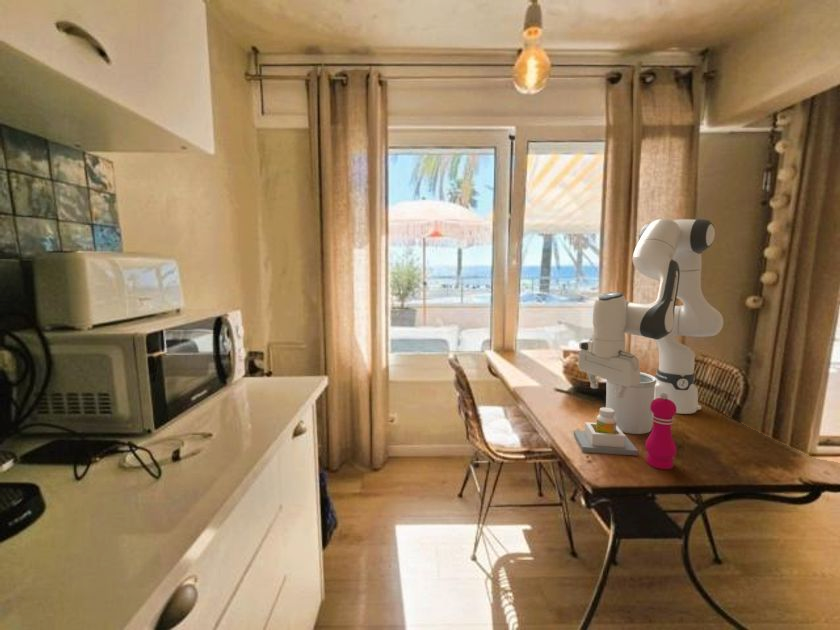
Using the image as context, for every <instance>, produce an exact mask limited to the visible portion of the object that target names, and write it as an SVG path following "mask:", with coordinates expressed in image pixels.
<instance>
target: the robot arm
mask: <svg viewBox="0 0 840 630" xmlns="http://www.w3.org/2000/svg"><path fill="white" fill-rule="evenodd" d="M715 231H716V230H715V225H714V223H712V222H711V221H710V220H709V219H706V218H705V219H704V218H697V219H689V218H686V219H685V218H681V219H680V218H679V219H678V218H677V219H673V220H672V219H670V218H669V219H668V218H659V219H656V220H654V221H652V222H650V223H646V224H644V225H643V227H642V228H641V229H640V231H639V234H638V242H637V244H636V246H635V248H634V251H633V254H632V264H633V265H634V268H635V269H636V270H637V271H638V272H639V273H640V274H641V275H643V276H645V277H647V278H650V279H653V280H656V281H658V282H659V286H658V291H657V296H656V300H655V301H653V302H651V303H643V302H642V303H641V302H631V301H628V300H626V296H625V294H624V293H622V292H618V291H609V292H602V293H600V294H598V295H597V296H596V297H595V300H594V305H593V311H592V312H593V313H592V325H593V331H592V332H593V333H592V337H591V339H590V340H587V341H581V342H579V343H578V347H579V352H578V359H577V360H578V363H577V365H578V369H579V370H580V371H581V372H584V373H587V378H588V380H589V383H590V386H589V387H590V388H591V389H595V390H596V389H599V382H597V378H596V377H598V378H601V379H605V381H607V380H609V381H612V382H615V383H618V387H620V388H619V390H618V391H615V397H617V398H619V399H621V398H623V395H624V392H625V390H626V389H627V388H628V387H635V386H638V385H639V384H640V372H641V371H640V365H639V364H640V363H639V359H638V358H637V357H636V356H635V354H634V353H630V352H627V351H626V335H633V336H638V337H639V336H640V337H643V338H648V339H652V340H653V341H654V342H655V343H656V346H657V349H658V368H657V370H656V374H655V378H656V384H655V390H654V399H656V398H661V397H660V395H661V394H662V393H666V394H667V395H668V398H667V399H669V400H671V401H672V402H673V403H674V404H675V405H676V414H681V415H683V414H685V415H687V414H689V415H690V414H694V413H696V412H697V411H699V410H702V405H699V402H698V401H699V400H698V399H699V397H698V396H699V395H698V394H699V393H698V387H697V386H696V385H695V380H696V374H695V359H696V355H695V352H694V351H693V349H691V348H690V347H688V346H687V345H685V344H683V343H681V342H680V341H678V340H677V337H676V336H683V337H697V338H702V337H703V338H704V337H713V336H716V335H718V334H719V333H720V332H721V330H722V328H723V326H724V318H723V315H722V314H721V312H720V311H719V310H718V309H716V308H715V307H713V306H712V305H711V304H710V303H709V302H708V301H707V300H706V298H705V296H704V294H703V292H702V253H703V252H704V251H706V250H707V249H708V248H710V247H711V246H712V245H713V242H714V239H715V235H716V232H715ZM677 300H680V302H682V305H676V302H677Z"/></svg>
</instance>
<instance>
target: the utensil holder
mask: <svg viewBox="0 0 840 630" xmlns="http://www.w3.org/2000/svg"><path fill="white" fill-rule="evenodd" d="M605 381H606V385H605V386H606V387H605V388H606V389H605V391H606V393H605V394H606V395H605V407H606V408H611V409H613V410H614V417H615V418H616V425H617V426H618V428H619V429H620V430H621V431H622V433H624V434H625V433H626V434H629V435H630V434H632V435H643V434H648V433H651V432H652V429H653V420H652V414H653V412H652V411H651V409H650V405H651V402H652V401H653V400H654V390H655V384H656V376H654V375H652V374H649V373H645V372H641V371H640V384H639V385H638V386H635V387H628V388H627V389H626V390H625V392H624V395H623V398H621V399H619V398H617V397H615V391H618V390H619V388H620V387H618V383H615V382H612V381H609V380H605Z"/></svg>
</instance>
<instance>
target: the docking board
mask: <svg viewBox="0 0 840 630" xmlns="http://www.w3.org/2000/svg"><path fill="white" fill-rule="evenodd" d="M596 424H597V422H587V421H585V423H584V430H577V429H576V430H573V437H574V438H575V440H576V442H577V445H578V446H579V448H580V450H581V452H582V453H592V454H593V453H594V454H608V455H609V454H610V455H622V456H623V455H624V456H638V455H639V450H638V449H637V447H636V446H635V445H634V443H633V442H632V441H631V440H630V439H629V438H628V437H627V435H626V434H625V432H622V431H621V430H620V429H619V428H618V426H617V425H616V434H612V433H596Z"/></svg>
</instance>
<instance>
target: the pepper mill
mask: <svg viewBox="0 0 840 630" xmlns="http://www.w3.org/2000/svg"><path fill="white" fill-rule="evenodd" d="M660 397H661V398H656V399H654V400H653V401H652V402H651V405H650V409H651V411H652V412H653V414H652V429H651V431H650V432H649V436H648V437H647V439H646V440H645V445H644V447H645V448H644V449H645V450H646V451H647V454H646V463H647V464H649V465H650V466H652V467H654V468H657V469H661V470H671V469H673V467H674V457H675V456H676V454H677V447H676V442H675V440H674V438H673V436H672V435H673V434H672V424H674V416H675V415H676V414H677V413H676V405H675V404H674V403H673V402H672V401H671V400H669V399H667V398H668V395H667V394H666V393H662V394H661V395H660Z"/></svg>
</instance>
